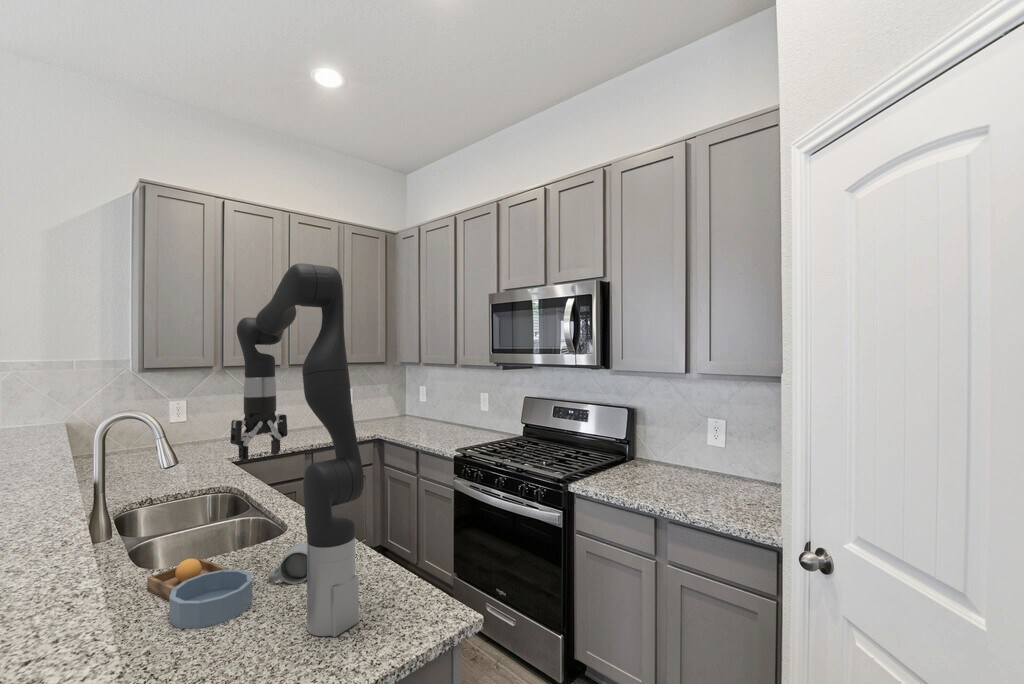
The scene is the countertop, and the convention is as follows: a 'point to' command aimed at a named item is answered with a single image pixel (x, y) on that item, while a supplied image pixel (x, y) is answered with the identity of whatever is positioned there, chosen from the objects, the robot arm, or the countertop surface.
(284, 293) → the robot arm
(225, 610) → the faceted grey bowl
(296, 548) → the ceramic mug
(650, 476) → the countertop surface
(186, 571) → the ball
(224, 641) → the countertop surface
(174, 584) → the tray
